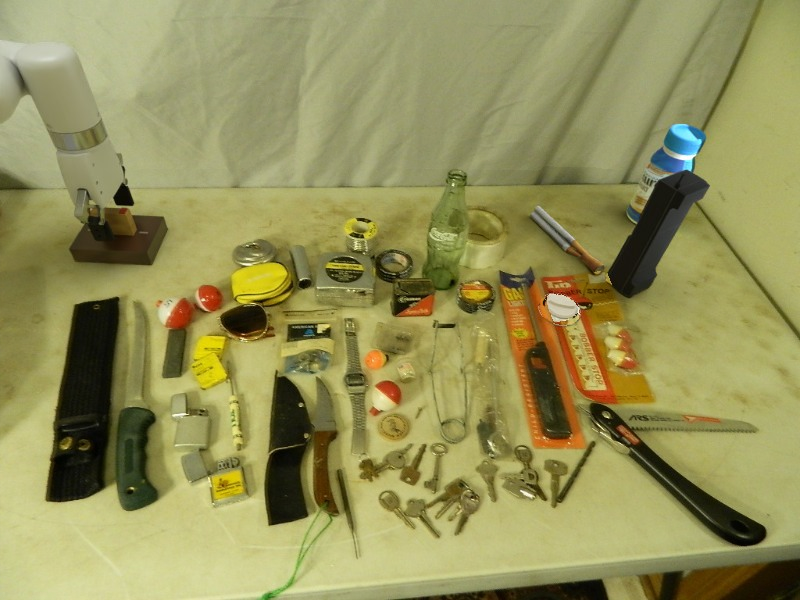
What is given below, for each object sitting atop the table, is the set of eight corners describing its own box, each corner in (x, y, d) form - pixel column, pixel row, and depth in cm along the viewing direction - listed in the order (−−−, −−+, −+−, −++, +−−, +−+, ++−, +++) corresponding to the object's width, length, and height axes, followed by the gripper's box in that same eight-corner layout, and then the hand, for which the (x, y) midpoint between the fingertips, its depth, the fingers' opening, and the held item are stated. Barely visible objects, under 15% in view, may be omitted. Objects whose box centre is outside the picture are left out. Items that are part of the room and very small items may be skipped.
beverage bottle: (670, 231, 110) (719, 145, 96) (631, 229, 110) (674, 142, 95) (657, 206, 116) (701, 122, 102) (619, 204, 116) (658, 119, 101)
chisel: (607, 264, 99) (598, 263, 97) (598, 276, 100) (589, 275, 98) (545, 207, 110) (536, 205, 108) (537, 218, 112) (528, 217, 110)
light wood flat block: (98, 234, 93) (88, 211, 89) (102, 227, 94) (92, 205, 91) (133, 235, 93) (125, 213, 90) (137, 229, 94) (128, 207, 91)
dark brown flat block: (74, 261, 92) (67, 248, 90) (96, 225, 99) (90, 212, 97) (151, 265, 93) (146, 251, 90) (168, 228, 100) (163, 215, 97)
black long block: (629, 265, 102) (690, 149, 84) (654, 284, 99) (723, 168, 81) (601, 278, 99) (659, 161, 81) (626, 299, 95) (692, 182, 77)
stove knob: (578, 331, 89) (582, 323, 88) (535, 319, 90) (538, 311, 89) (581, 301, 94) (585, 293, 93) (540, 290, 95) (543, 283, 94)
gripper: (76, 103, 85) (111, 191, 98) (25, 162, 74) (73, 254, 86) (123, 106, 86) (153, 193, 98) (80, 165, 74) (120, 256, 86)
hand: (115, 221), depth 92 cm, fingers open, 9 cm apart
